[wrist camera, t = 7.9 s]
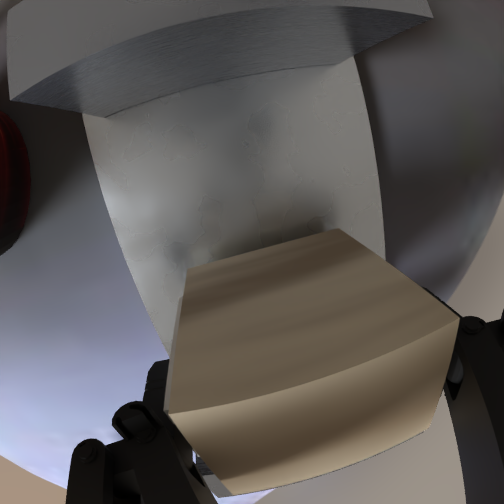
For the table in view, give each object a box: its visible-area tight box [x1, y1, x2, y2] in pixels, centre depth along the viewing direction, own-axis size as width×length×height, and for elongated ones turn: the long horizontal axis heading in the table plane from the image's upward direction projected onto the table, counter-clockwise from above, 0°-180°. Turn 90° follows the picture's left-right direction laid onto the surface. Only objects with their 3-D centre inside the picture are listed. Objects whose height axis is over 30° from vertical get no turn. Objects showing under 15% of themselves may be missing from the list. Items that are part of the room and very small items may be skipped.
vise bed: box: [82, 56, 423, 498], centre depth 11 cm, size 26×13×8 cm, turn 13°
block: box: [168, 228, 460, 495], centre depth 10 cm, size 5×7×8 cm
